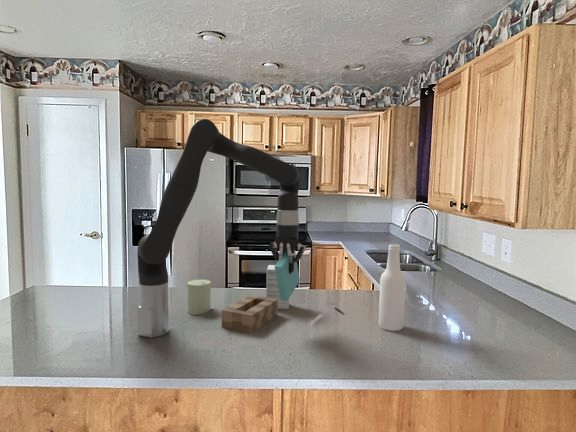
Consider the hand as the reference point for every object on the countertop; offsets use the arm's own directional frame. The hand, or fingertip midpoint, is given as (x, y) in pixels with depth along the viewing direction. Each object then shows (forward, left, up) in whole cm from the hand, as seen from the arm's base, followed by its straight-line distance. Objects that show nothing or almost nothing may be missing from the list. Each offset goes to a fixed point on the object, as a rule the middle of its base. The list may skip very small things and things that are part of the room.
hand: (286, 272), depth 138 cm
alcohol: (+19, -33, -21) cm, 43 cm away
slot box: (0, +14, -20) cm, 25 cm away
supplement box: (+21, +13, -21) cm, 32 cm away
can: (+3, +39, -21) cm, 44 cm away
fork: (+30, -9, -21) cm, 38 cm away
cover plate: (+4, 0, -7) cm, 8 cm away
